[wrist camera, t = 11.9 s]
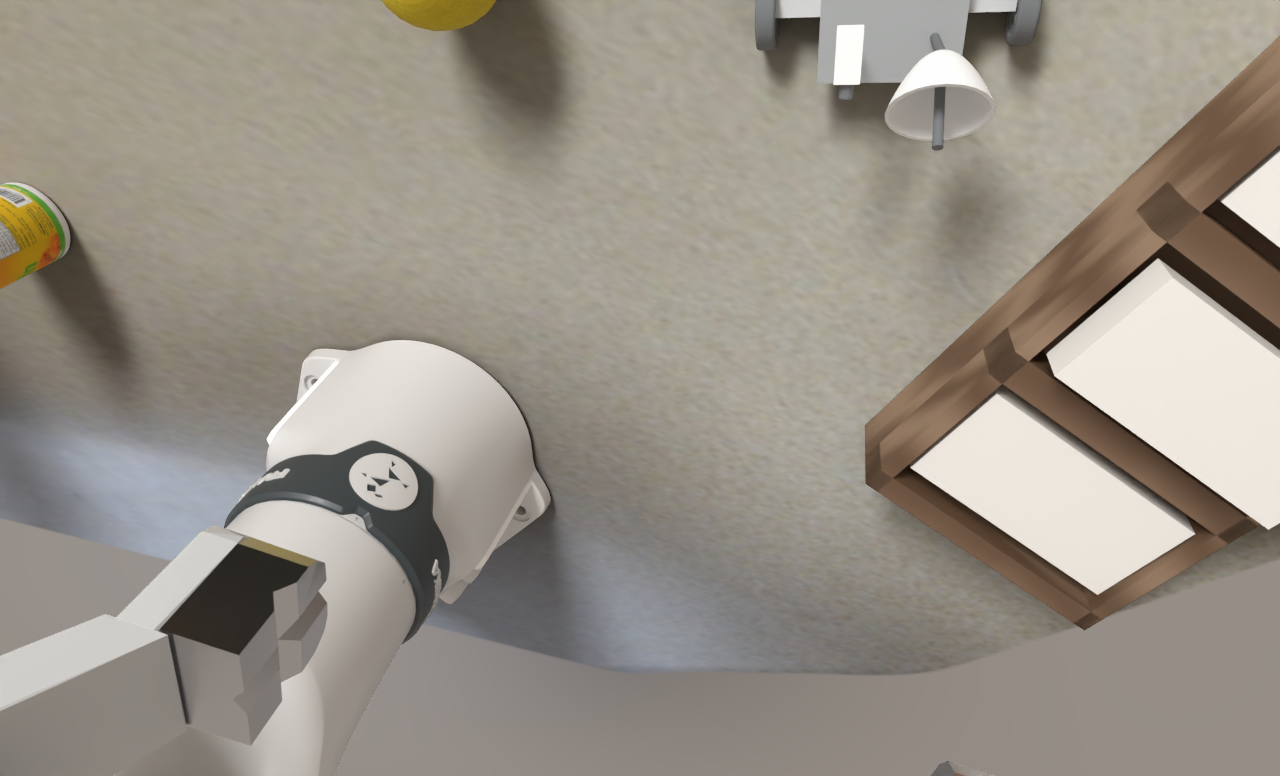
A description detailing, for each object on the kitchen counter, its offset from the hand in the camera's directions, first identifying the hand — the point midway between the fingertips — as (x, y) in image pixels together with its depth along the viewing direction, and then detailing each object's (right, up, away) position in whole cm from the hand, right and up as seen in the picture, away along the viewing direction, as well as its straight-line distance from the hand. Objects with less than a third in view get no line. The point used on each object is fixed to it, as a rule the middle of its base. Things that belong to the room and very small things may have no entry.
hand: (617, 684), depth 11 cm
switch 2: (+26, +4, +27) cm, 38 cm away
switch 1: (+22, -1, +34) cm, 40 cm away
